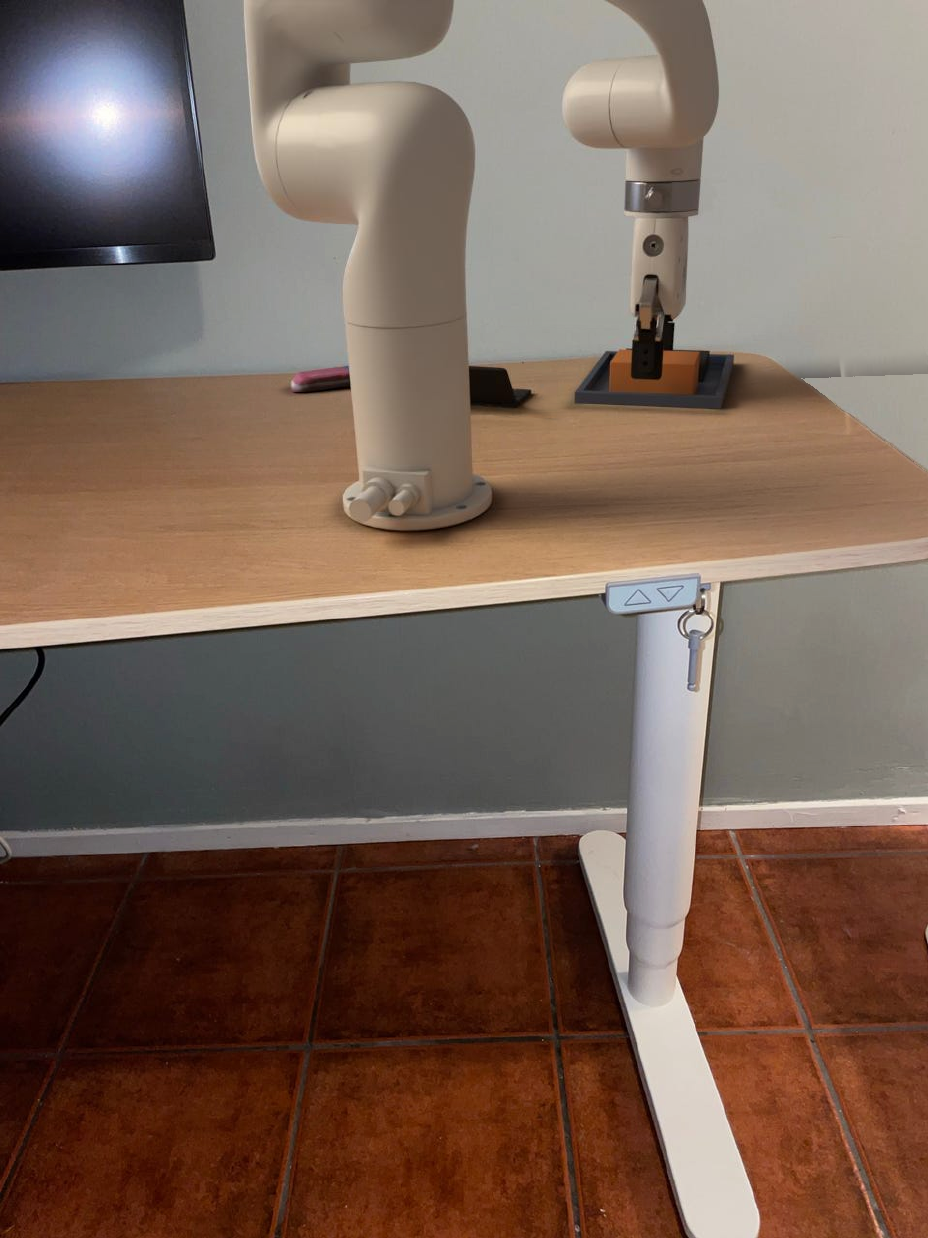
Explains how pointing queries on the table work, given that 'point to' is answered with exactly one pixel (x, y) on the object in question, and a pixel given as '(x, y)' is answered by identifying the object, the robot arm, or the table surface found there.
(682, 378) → the orange block
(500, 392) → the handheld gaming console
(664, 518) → the table surface
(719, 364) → the pad tray
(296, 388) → the eraser
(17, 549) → the table surface
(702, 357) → the rubber pad
